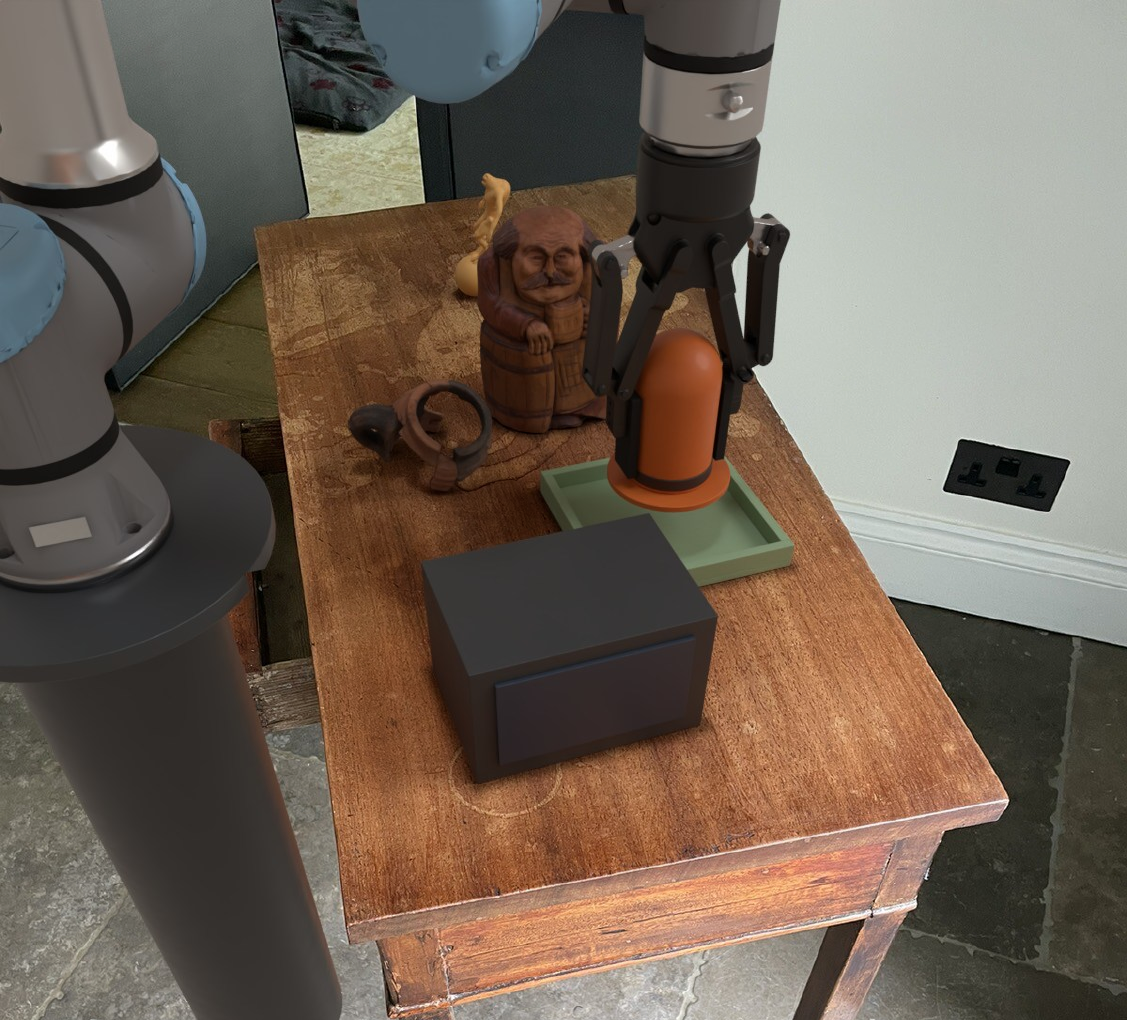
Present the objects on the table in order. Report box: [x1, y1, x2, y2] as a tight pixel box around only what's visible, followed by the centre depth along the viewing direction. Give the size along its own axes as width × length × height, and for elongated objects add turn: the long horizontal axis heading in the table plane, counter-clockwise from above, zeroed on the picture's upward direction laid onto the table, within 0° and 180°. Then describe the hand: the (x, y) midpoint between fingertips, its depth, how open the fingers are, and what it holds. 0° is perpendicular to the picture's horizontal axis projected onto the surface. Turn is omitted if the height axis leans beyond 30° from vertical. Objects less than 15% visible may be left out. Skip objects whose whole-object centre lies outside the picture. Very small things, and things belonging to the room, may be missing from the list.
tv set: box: [420, 513, 719, 785], centre depth 71 cm, size 11×16×10 cm
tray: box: [539, 456, 795, 588], centre depth 87 cm, size 16×16×2 cm
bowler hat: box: [607, 327, 730, 513], centre depth 79 cm, size 10×10×12 cm
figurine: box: [454, 172, 511, 297], centre depth 109 cm, size 8×6×12 cm
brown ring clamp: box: [347, 378, 493, 492], centre depth 91 cm, size 12×10×8 cm
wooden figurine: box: [476, 204, 621, 434], centre depth 91 cm, size 12×6×18 cm, turn 105°
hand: (669, 458), depth 82 cm, fingers closed on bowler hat, 7 cm apart
